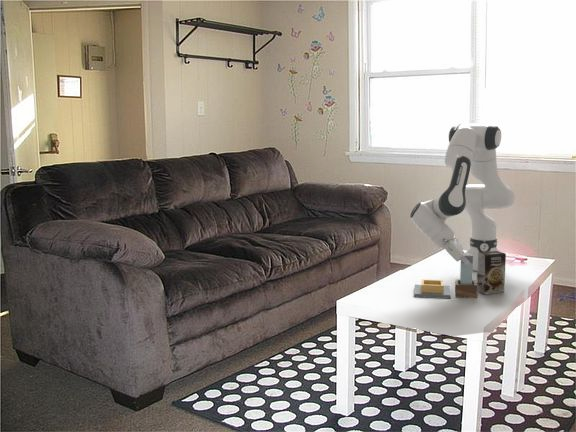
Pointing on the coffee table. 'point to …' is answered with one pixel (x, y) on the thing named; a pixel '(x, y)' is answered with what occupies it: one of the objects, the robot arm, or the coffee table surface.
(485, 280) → the coffee box
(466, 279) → the plug
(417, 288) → the dock
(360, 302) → the coffee table surface
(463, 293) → the box
